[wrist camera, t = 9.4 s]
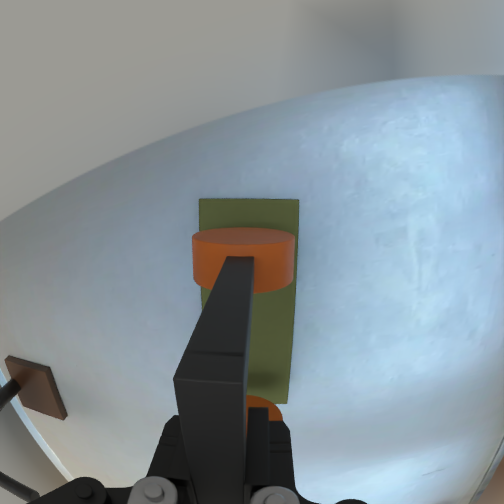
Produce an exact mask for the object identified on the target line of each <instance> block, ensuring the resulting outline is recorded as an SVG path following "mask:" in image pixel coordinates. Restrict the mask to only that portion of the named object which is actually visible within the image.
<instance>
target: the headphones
mask: <svg viewBox="0 0 504 504" xmlns="http://www.w3.org/2000/svg"><path fill="white" fill-rule="evenodd" d="M294 250H295V236H294V235H293V234H291V233H289V232H285V231H281V230H275V229H267V228H250V227H234V228H218V229H210V230H204V231H200V232H197V233H195V234H194V235H193V236H192V252H193V278H194V281H195V282H196V283H197V284H198V285H200V286H201V287H204V288H206V289H209V290H211V292H210V295H209V297H208V299H207V301H206V304H205V306H204V308H203V311H202V313H201V315H200V317H199V320H198V322H197V324H196V327H195V329H194V331H193V333H192V336H191V338H190V340H189V343H188V345H187V347H186V350H185V352H184V354H183V356H182V359H181V361H180V363H179V366H178V368H177V370H176V373H175V375H174V377H173V381H174V388H175V395H176V401H177V407H178V413H179V419H180V424H181V430H182V435H183V440H184V445H185V450H186V455H187V460H188V465H189V469H190V474H191V478H192V482H193V486H194V490H195V494H196V498H197V502H198V504H244V482H245V466H246V437H247V421H248V407H268V409H269V421H283V417H282V414H281V412H280V410H279V408H278V407H277V406H276V405H275V404H273V403H272V402H270V401H268V400H266V399H264V398H261V397H258V396H252V395H246V393H247V379H248V364H249V350H250V335H251V320H252V306H253V294H255V293H264V292H270V291H275V290H278V289H281V288H284V287H286V286H288V285H289V284H290V283H291V282H292V281H293V273H294Z"/></svg>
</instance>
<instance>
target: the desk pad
mask: <svg viewBox="0 0 504 504" xmlns="http://www.w3.org/2000/svg"><path fill="white" fill-rule="evenodd" d="M298 226H299V200H292V199H199V232H200V231H204V230H210V229H218V228H234V227H250V228H267V229H275V230H281V231H285V232H289V233H291V234H293V235H294V236H295V250H294V273H293V281H292V282H291V283H290V284H289V285H288V286H286V287H284V288H281V289H278V290H275V291H270V292H264V293H255V294H253V306H252V320H251V335H250V350H249V364H248V379H247V393H246V395H252V396H258V397H261V398H264V399H266V400H268V401H270V402H272V403H273V404H287V400H288V390H289V378H290V366H291V354H292V341H293V326H294V311H295V294H296V275H297V253H298ZM210 292H211V290H209V289H206V288H204V287H201V297H202V311H203V308H204V306H205V304H206V301H207V299H208V297H209V295H210Z"/></svg>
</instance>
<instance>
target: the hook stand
mask: <svg viewBox="0 0 504 504" xmlns="http://www.w3.org/2000/svg"><path fill="white" fill-rule="evenodd" d="M5 363H6V366H7V368H8V371H9V374H10V376H11V380H10V381H9V382H7V383H6V384H5V385H4V386H3V387H2V388H1V389H0V411H1V410H2V409H3V408H4V407H5V405H7V403H9V402H10V400H11V399H12V398H13V397H14V396H15V395H16V394H17V393H18V396H19V398H20V400H21V403H22V405H23V406H24V407H27V408H30V409H32V410H35V411H38V412H40V413H43V414H46V415H49V416H52V417H55V418H58V419H61V420H65V418H66V417H67V413H66V410H65V408H64V405H63V403H62V400H61V398H60V395H59V392H58V390H57V387H56V384H55V381H54V378H53V376H52V373H51V369H50V367H46V366H43V365H39V364H35V363H32V362H28V361H25V360H21V359H18V358H15V357H12V356H8V357H7V358H6V359H5ZM0 486H1V487H2V488H4V489H6V490H7V491H9V492H11V493H13V494H14V495H16V496H18V497H19V498H21V499H23V500H25V501H27V502H31V501H33V500H35V499H37V498H39V497H40V495H39V493H38V492H37V491H35V490H33V489H31V488H29V487H27V486H25V485H23V484H21V483H19V482H18V481H16V480H14V479H12V478H10V477H9V476H7V475H5V474H4V473H2V472H0Z"/></svg>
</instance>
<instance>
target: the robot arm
mask: <svg viewBox="0 0 504 504" xmlns="http://www.w3.org/2000/svg"><path fill="white" fill-rule="evenodd" d="M27 504H198V502H197V498H196V494H195V490H194V486H193V482H192V478H191V474H190V469H189V465H188V460H187V455H186V450H185V445H184V440H183V435H182V430H181V424H180V419H179V415H174V416H173V417H172V418H171V419H170V420H169V421H168V422H167V423H166V424H165V426H164V429H163V432H162V436H161V437H160V440H159V444H158V446H157V448H156V451H155V454H154V457H153V459H152V462H151V465H150V468H149V471H148V473H147V475H146V477H145V478H142V479H140V480H139V481H137V482H136V483H135V484H134V486H131V487H126V488H105V487H104V485H103V484H102V483H101V482H100V481H98V480H96V479H94V478H91V477H79V478H76V479H74V480H72V481H70V482H68V483H67V484H65V485H63V486H61V487H59V488H57V489H55V490H53V491H52V492H49V493H47V494H46V495H43V496H41V497H39V498H37V499H35V500H33V501H31V502H29V503H27ZM244 504H319V503H314V502H311V501H308V500H306V499H305V498H303V497H302V496H301V495H300V494H299V493H298V491H297V490H296V487H295V480H294V469H293V458H292V448H291V437H290V430H289V428H288V427H287V426H286V424H285V423H284V421H269V409H268V407H248V421H247V437H246V466H245V482H244ZM336 504H367V503H365V502H363V501H361V500H356V499H347V500H342V501H340V502H337V503H336Z"/></svg>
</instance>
